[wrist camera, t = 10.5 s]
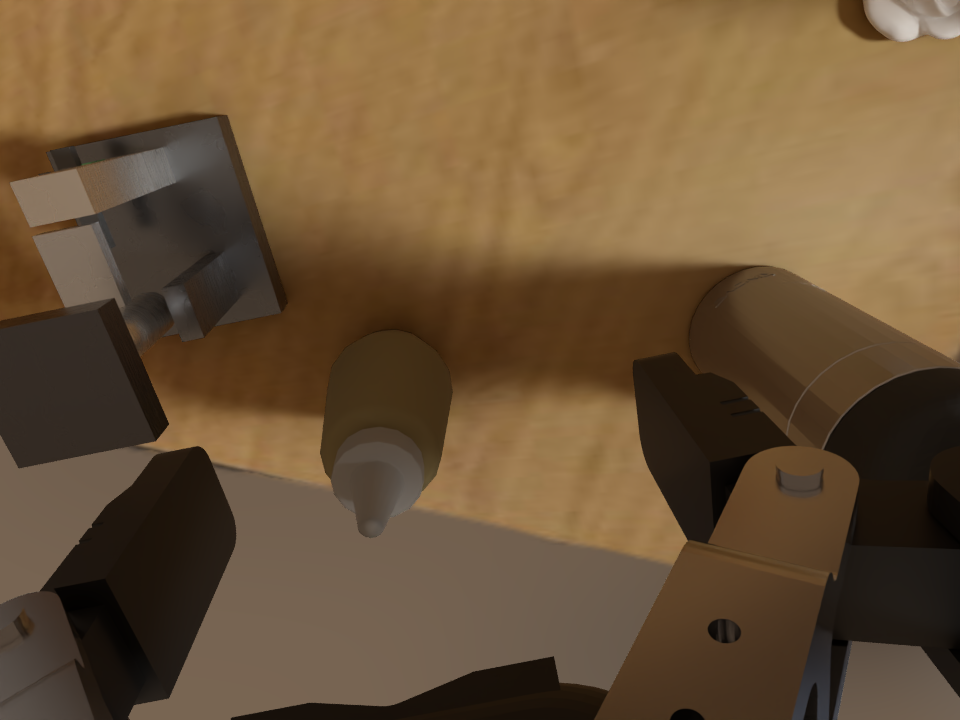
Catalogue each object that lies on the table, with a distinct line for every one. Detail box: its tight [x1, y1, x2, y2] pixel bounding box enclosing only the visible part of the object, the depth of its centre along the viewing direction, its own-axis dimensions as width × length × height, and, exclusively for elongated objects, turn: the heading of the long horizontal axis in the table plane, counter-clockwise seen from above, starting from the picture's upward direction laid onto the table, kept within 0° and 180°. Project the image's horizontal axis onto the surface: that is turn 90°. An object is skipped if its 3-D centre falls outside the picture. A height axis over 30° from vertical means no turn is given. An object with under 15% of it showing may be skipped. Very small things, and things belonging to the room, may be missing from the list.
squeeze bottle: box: [320, 329, 453, 538], centre depth 38 cm, size 8×8×18 cm
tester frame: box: [10, 115, 288, 342], centre depth 36 cm, size 12×10×12 cm
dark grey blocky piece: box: [0, 221, 174, 468], centre depth 31 cm, size 8×6×10 cm
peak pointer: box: [50, 146, 116, 249], centre depth 36 cm, size 6×1×1 cm, turn 11°
